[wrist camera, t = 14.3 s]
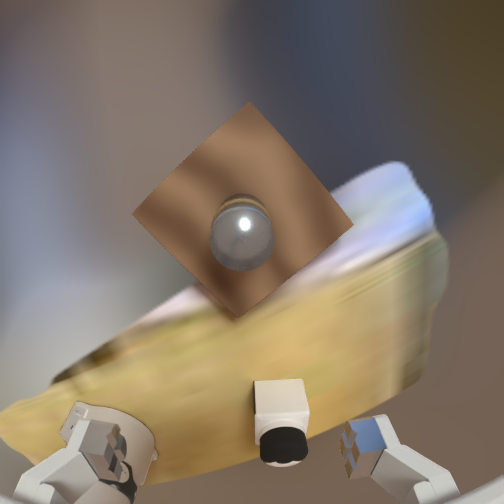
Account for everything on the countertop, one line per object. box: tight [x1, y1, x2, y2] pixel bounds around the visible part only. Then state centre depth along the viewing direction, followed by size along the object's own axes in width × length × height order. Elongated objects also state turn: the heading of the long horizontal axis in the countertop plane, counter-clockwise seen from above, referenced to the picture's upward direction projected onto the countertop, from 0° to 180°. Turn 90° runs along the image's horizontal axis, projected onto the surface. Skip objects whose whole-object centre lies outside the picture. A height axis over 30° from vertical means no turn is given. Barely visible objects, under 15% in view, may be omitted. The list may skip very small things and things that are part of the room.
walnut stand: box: [132, 102, 354, 318], centre depth 34 cm, size 16×16×4 cm
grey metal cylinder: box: [210, 194, 274, 271], centre depth 29 cm, size 5×5×7 cm
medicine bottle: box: [253, 378, 310, 467], centre depth 40 cm, size 7×7×12 cm
